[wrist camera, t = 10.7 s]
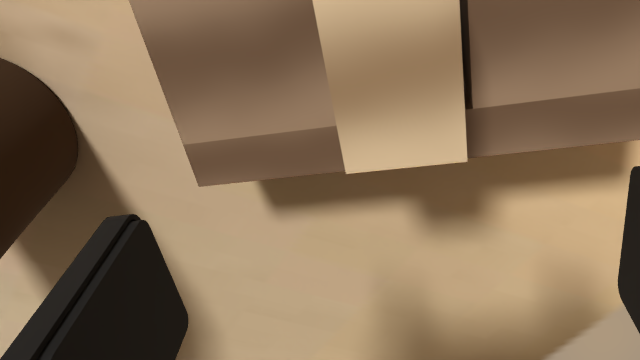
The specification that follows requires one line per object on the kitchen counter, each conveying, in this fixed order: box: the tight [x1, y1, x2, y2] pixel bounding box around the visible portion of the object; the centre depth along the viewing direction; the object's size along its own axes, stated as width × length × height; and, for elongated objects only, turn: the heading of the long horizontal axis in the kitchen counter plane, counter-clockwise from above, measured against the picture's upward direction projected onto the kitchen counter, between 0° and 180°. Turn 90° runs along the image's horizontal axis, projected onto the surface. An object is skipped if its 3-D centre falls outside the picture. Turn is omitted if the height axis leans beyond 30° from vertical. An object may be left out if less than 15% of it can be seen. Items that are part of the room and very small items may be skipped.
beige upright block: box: [312, 0, 468, 174], centre depth 20 cm, size 6×4×9 cm, turn 11°
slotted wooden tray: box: [129, 0, 640, 187], centre depth 23 cm, size 12×20×6 cm, turn 101°
